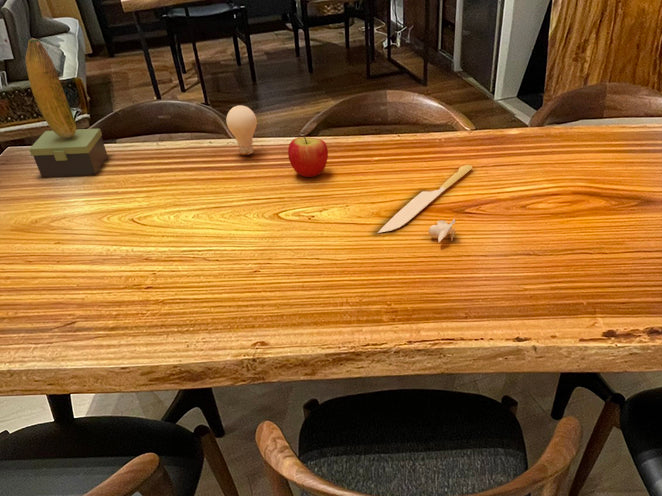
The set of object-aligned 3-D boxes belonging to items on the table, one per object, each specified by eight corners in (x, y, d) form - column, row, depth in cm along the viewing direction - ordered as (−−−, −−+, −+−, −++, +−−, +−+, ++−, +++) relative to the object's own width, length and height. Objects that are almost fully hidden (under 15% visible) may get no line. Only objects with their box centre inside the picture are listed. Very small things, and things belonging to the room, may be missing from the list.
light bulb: (264, 158, 142) (257, 108, 135) (235, 163, 141) (226, 113, 133) (258, 147, 147) (250, 99, 140) (230, 152, 145) (221, 103, 138)
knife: (369, 228, 116) (390, 232, 113) (457, 161, 136) (476, 163, 133) (370, 234, 117) (390, 238, 114) (457, 167, 136) (476, 169, 134)
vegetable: (58, 145, 135) (19, 44, 121) (45, 138, 138) (7, 39, 124) (84, 137, 138) (49, 37, 124) (71, 130, 141) (36, 32, 128)
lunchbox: (39, 178, 138) (28, 149, 133) (56, 157, 146) (46, 130, 142) (95, 176, 138) (85, 147, 134) (109, 155, 146) (100, 127, 142)
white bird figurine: (425, 224, 116) (435, 202, 113) (448, 232, 117) (459, 210, 114) (426, 246, 110) (437, 223, 107) (450, 254, 111) (461, 232, 108)
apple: (286, 170, 137) (280, 124, 130) (323, 163, 139) (319, 118, 132) (296, 185, 131) (290, 138, 125) (334, 178, 133) (330, 131, 127)
